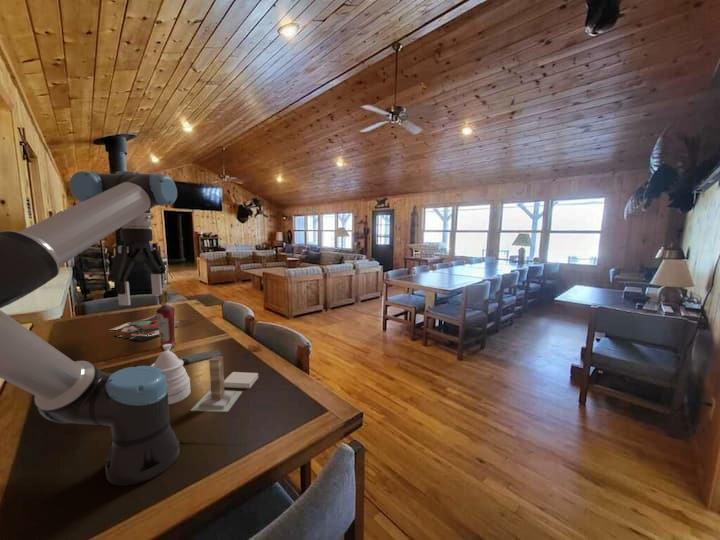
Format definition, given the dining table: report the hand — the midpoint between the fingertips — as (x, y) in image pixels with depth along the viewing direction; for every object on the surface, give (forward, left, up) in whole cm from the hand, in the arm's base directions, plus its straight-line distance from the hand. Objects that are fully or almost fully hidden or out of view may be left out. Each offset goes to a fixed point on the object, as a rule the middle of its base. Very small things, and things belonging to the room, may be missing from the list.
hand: (142, 299), depth 92 cm
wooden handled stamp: (+6, -18, -36) cm, 41 cm away
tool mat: (+6, -18, -37) cm, 41 cm away
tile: (+23, -21, -36) cm, 47 cm away
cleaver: (+37, +10, -37) cm, 54 cm away
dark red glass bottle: (+51, +27, -37) cm, 68 cm away
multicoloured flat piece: (+79, +54, -38) cm, 103 cm away
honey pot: (+9, 0, -37) cm, 38 cm away
